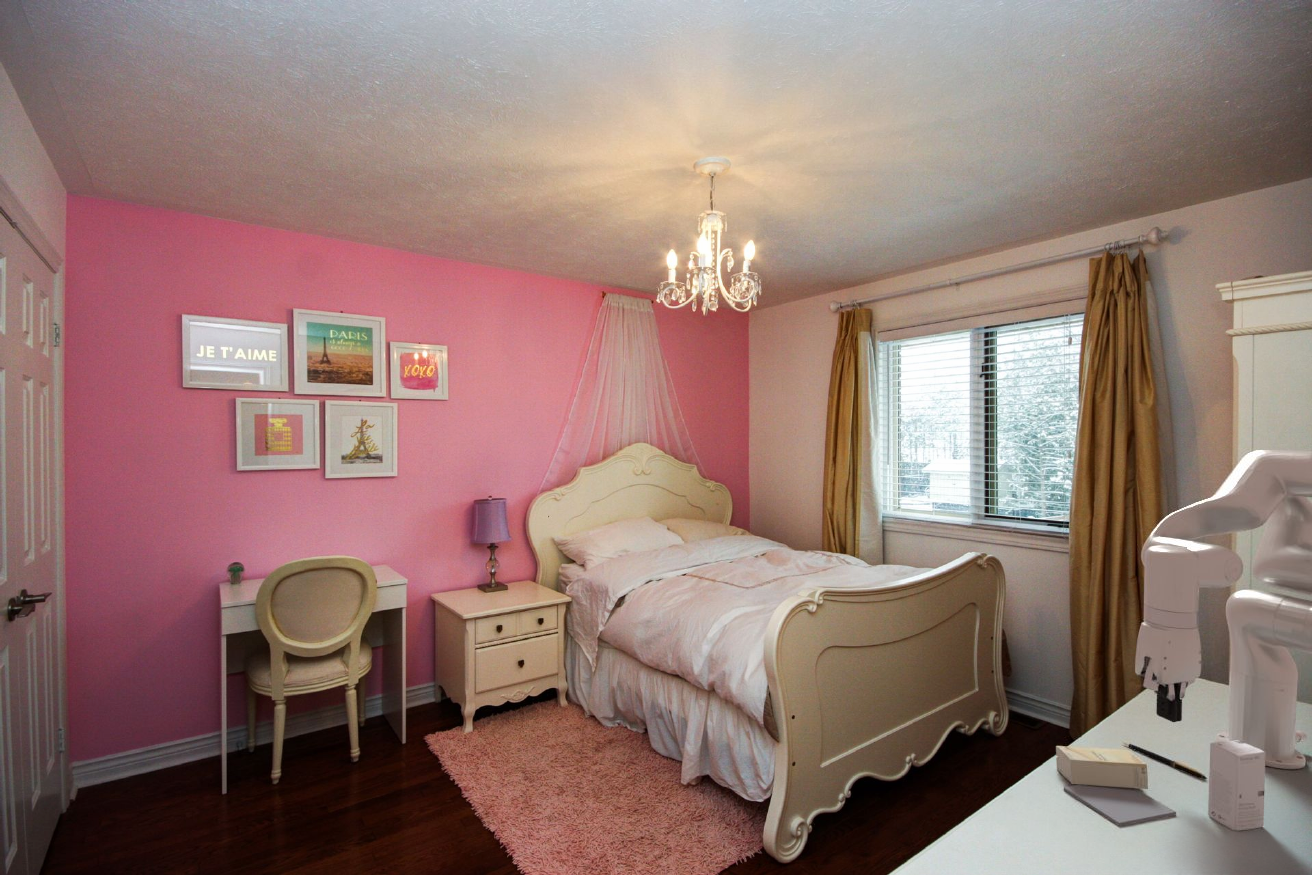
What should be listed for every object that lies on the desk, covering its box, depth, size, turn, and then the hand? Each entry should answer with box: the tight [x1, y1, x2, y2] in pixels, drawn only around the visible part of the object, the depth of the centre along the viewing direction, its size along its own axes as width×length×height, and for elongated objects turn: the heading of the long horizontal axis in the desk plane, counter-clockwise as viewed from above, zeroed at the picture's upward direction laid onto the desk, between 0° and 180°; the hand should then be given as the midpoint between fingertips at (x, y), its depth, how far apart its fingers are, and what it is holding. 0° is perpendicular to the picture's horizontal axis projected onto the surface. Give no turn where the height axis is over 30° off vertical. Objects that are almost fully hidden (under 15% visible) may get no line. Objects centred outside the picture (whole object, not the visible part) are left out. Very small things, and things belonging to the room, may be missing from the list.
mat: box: [1063, 784, 1177, 827], centre depth 107 cm, size 12×10×1 cm
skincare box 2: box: [1207, 740, 1266, 831], centre depth 102 cm, size 6×4×12 cm
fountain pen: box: [1121, 741, 1208, 780], centre depth 120 cm, size 14×1×2 cm, turn 26°
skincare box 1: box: [1055, 745, 1149, 790], centre depth 113 cm, size 6×4×12 cm
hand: (1168, 717), depth 113 cm, fingers closed
